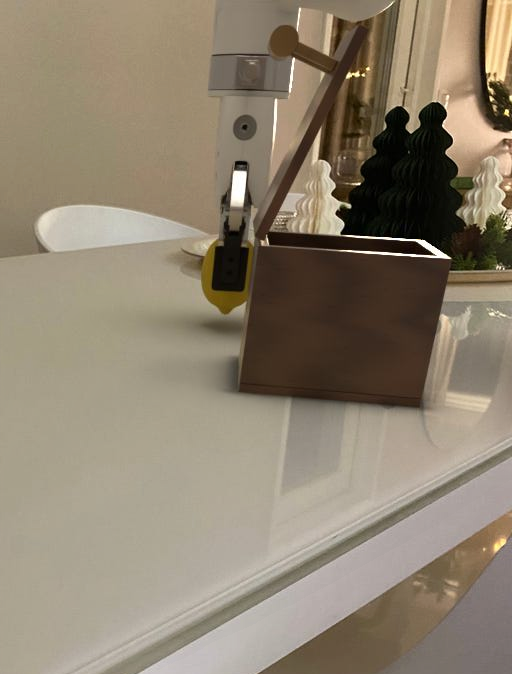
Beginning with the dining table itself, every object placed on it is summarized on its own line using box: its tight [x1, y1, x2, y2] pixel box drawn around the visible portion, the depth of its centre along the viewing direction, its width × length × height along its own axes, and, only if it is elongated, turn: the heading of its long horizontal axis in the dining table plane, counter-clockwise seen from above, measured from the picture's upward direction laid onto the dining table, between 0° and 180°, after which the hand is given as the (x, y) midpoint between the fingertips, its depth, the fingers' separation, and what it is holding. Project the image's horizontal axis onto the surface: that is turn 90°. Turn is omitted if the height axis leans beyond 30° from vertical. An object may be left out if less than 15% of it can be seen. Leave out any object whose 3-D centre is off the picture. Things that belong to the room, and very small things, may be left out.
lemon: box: [200, 235, 254, 316], centre depth 103 cm, size 6×6×8 cm
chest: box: [237, 229, 453, 409], centre depth 83 cm, size 14×13×11 cm
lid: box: [252, 23, 370, 241], centre depth 78 cm, size 14×13×6 cm
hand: (228, 284), depth 104 cm, fingers closed on lemon, 5 cm apart
